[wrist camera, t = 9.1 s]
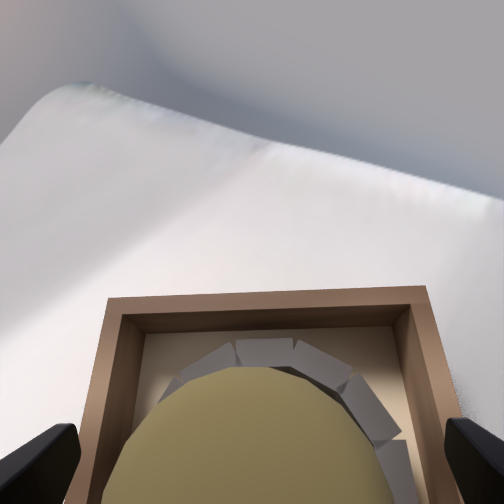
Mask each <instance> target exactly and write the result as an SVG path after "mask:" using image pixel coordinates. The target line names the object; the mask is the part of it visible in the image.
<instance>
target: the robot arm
mask: <svg viewBox="0 0 504 504" xmlns="http://www.w3.org/2000/svg"><path fill="white" fill-rule="evenodd" d="M444 453H445V457H446V459H447V462H448V464H449V467H450V469H451V472H452V474H453V477H454V479H455V481H456V484H457V486H458V489H459V491H460V494H461V496H462V499H463V501H464V504H504V441H503V440H501V439H499V438H498V437H496V436H495V435H493V434H492V433H490V432H489V431H487V430H485V429H484V428H482V427H481V426H479V425H478V424H476V423H475V422H473V421H472V420H470V419H468V418H465V417H451V418H448V419H447V421H446V427H445V438H444ZM80 459H81V446H80V441H79V437H78V433H77V429H76V426H75V425H74V424H72V423H60V424H56V425H54V426H53V427H51V428H49V429H48V430H46V431H45V432H43V433H42V434H40V435H39V436H37V437H35V438H34V439H32V440H31V441H29V442H28V443H26V444H24V445H23V446H21V447H20V448H18V449H17V450H15V451H14V452H12V453H10V454H9V455H7V456H6V457H4V458H3V459H1V460H0V504H63V501H64V499H65V496H66V494H67V491H68V489H69V486H70V484H71V481H72V479H73V477H74V474H75V472H76V469H77V467H78V464H79V462H80Z"/></svg>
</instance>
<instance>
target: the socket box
mask: <svg viewBox="0 0 504 504" xmlns="http://www.w3.org/2000/svg"><path fill="white" fill-rule="evenodd" d="M229 367H270V368H273V369H276V370H279V371H282V372H285V373H288V374H291V375H294V376H297V377H300V378H303V379H306V380H307V381H309V382H310V383H311V384H313V385H314V386H316V387H317V388H318V389H320V390H321V391H323V392H324V393H325V394H327V395H328V396H329V397H331V398H332V399H334V400H335V401H336V402H338V403H339V404H340V405H342V407H343V408H344V409H345V411H346V412H347V413H348V414H349V416H350V417H351V418H352V419H353V421H354V422H355V423H356V425H357V426H358V427H359V428H360V430H361V431H362V432H363V434H364V435H365V436H366V437H367V439H368V440H369V441H370V442H371V444H372V446H373V449H374V451H375V453H376V456H377V458H378V460H379V463H380V465H381V467H382V470H383V472H384V474H385V477H386V479H387V481H388V484H389V486H390V488H391V491H392V493H393V497H394V502H395V504H464V501H463V499H462V496H461V494H460V491H459V489H458V486H457V484H456V481H455V479H454V477H453V474H452V472H451V469H450V467H449V464H448V462H447V459H446V457H445V453H444V438H445V427H446V421H447V419H448V418H451V417H462V414H461V410H460V407H459V403H458V399H457V396H456V392H455V389H454V385H453V382H452V378H451V375H450V371H449V368H448V364H447V360H446V357H445V353H444V350H443V346H442V343H441V339H440V336H439V332H438V329H437V325H436V321H435V318H434V314H433V311H432V307H431V304H430V300H429V297H428V293H427V290H426V286H425V285H424V286H398V287H373V288H348V289H323V290H297V291H272V292H247V293H222V294H196V295H171V296H146V297H121V298H108V302H107V306H106V311H105V316H104V320H103V325H102V330H101V334H100V339H99V344H98V348H97V353H96V357H95V362H94V367H93V371H92V376H91V381H90V385H89V390H88V395H87V399H86V404H85V408H84V413H83V418H82V422H81V427H80V432H79V436H78V437H79V441H80V446H81V459H80V462H79V464H78V467H77V469H76V472H75V474H74V477H73V479H72V481H71V484H70V486H69V489H68V491H67V494H66V497H65V501H64V504H101V501H102V496H103V491H104V489H105V487H106V485H107V482H108V480H109V478H110V476H111V474H112V471H113V469H114V467H115V465H116V462H117V460H118V458H119V456H120V453H121V451H122V449H123V447H124V445H125V443H126V441H127V440H128V439H129V438H130V436H131V435H132V434H133V433H134V431H135V430H136V429H137V428H138V426H139V425H140V424H141V423H142V421H143V420H144V419H145V418H146V416H147V415H148V414H149V412H150V411H151V410H152V409H153V407H154V406H155V405H157V404H158V403H160V402H161V401H162V400H164V399H165V398H166V397H168V396H169V395H171V394H172V393H173V392H175V391H176V390H177V389H179V388H180V387H182V386H183V385H184V384H186V383H187V382H189V381H191V380H194V379H197V378H200V377H203V376H205V375H208V374H211V373H214V372H217V371H220V370H223V369H226V368H229Z"/></svg>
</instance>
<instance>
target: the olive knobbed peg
mask: <svg viewBox="0 0 504 504" xmlns="http://www.w3.org/2000/svg"><path fill="white" fill-rule="evenodd" d="M101 504H395V502H394V497H393V493H392V491H391V488H390V486H389V484H388V481H387V479H386V477H385V474H384V472H383V470H382V467H381V465H380V463H379V460H378V458H377V456H376V453H375V451H374V449H373V446H372V444H371V442H370V441H369V440H368V439H367V437H366V436H365V435H364V434H363V432H362V431H361V430H360V428H359V427H358V426H357V425H356V423H355V422H354V421H353V419H352V418H351V417H350V416H349V414H348V413H347V412H346V411H345V409H344V408H343V407H342V405H340V404H339V403H338V402H336V401H335V400H334V399H332V398H331V397H329V396H328V395H327V394H325V393H324V392H323V391H321V390H320V389H318V388H317V387H316V386H314V385H313V384H311V383H310V382H309V381H307V380H306V379H303V378H300V377H297V376H294V375H291V374H288V373H285V372H282V371H279V370H276V369H273V368H270V367H229V368H226V369H223V370H220V371H217V372H214V373H211V374H208V375H205V376H203V377H200V378H197V379H194V380H191V381H189V382H187V383H186V384H184V385H183V386H182V387H180V388H179V389H177V390H176V391H175V392H173V393H172V394H171V395H169V396H168V397H166V398H165V399H164V400H162V401H161V402H160V403H158V404H157V405H155V406H154V407H153V409H152V410H151V411H150V412H149V414H148V415H147V416H146V418H145V419H144V420H143V421H142V423H141V424H140V425H139V426H138V428H137V429H136V430H135V431H134V433H133V434H132V435H131V436H130V438H129V439H128V440H127V441H126V443H125V445H124V447H123V449H122V451H121V453H120V456H119V458H118V460H117V462H116V465H115V467H114V469H113V471H112V474H111V476H110V478H109V480H108V482H107V485H106V487H105V489H104V491H103V496H102V501H101Z"/></svg>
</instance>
